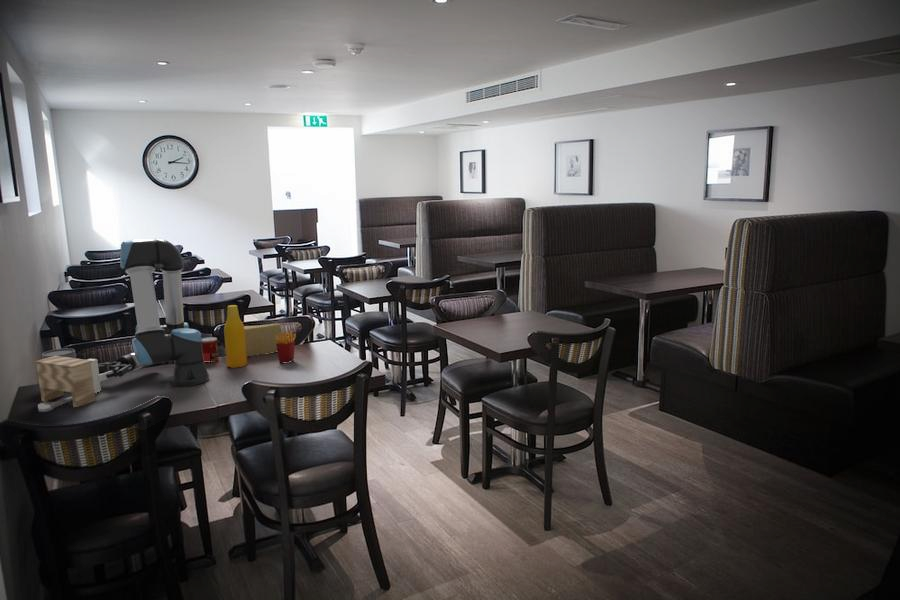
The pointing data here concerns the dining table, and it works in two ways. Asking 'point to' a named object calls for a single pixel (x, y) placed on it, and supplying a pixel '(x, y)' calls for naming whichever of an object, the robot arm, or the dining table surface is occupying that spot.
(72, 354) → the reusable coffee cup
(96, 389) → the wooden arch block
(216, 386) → the dining table surface
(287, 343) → the french fries
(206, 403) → the dining table surface
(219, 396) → the dining table surface
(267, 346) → the cheese
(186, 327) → the robot arm
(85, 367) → the wooden bridge
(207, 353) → the red drink glass
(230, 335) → the beer bottle
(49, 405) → the steel token
